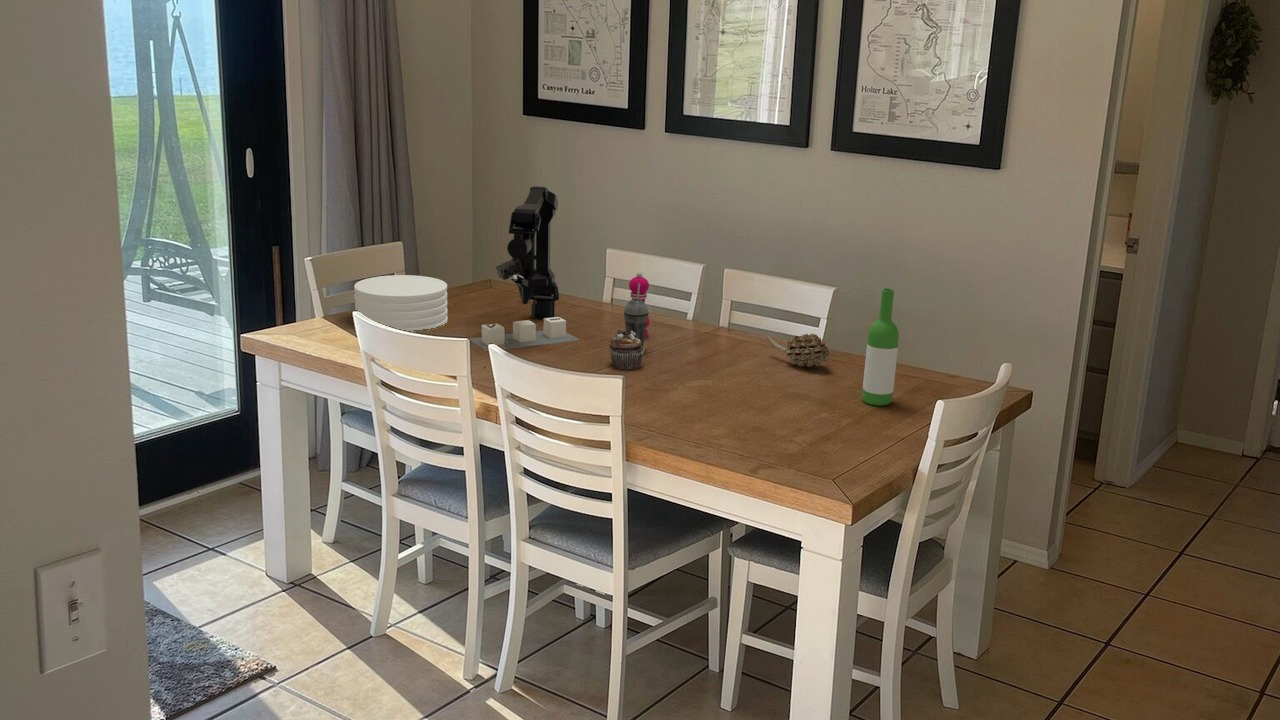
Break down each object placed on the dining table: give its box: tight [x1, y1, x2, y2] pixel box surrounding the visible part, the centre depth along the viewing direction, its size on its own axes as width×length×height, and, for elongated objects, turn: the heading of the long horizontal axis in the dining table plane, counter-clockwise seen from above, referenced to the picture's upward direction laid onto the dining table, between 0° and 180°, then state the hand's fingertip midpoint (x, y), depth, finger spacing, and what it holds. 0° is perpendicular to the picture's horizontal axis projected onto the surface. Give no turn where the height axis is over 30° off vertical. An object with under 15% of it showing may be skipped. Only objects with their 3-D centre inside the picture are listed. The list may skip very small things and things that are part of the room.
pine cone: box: [766, 333, 831, 368], centre depth 329 cm, size 22×10×10 cm, turn 50°
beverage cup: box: [623, 284, 650, 348], centre depth 333 cm, size 7×7×20 cm
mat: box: [469, 329, 580, 352], centre depth 341 cm, size 30×14×1 cm, turn 121°
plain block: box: [512, 319, 537, 342], centre depth 341 cm, size 5×5×5 cm
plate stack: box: [353, 274, 449, 333], centre depth 357 cm, size 28×28×12 cm
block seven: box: [481, 323, 506, 345], centre depth 336 cm, size 5×5×5 cm
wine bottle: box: [861, 287, 900, 407], centre depth 296 cm, size 8×8×30 cm
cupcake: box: [609, 329, 645, 370], centre depth 321 cm, size 10×10×10 cm
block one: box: [543, 316, 567, 339], centre depth 346 cm, size 5×5×5 cm
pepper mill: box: [628, 271, 650, 339], centre depth 349 cm, size 7×7×20 cm
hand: (524, 304), depth 338 cm, fingers closed
